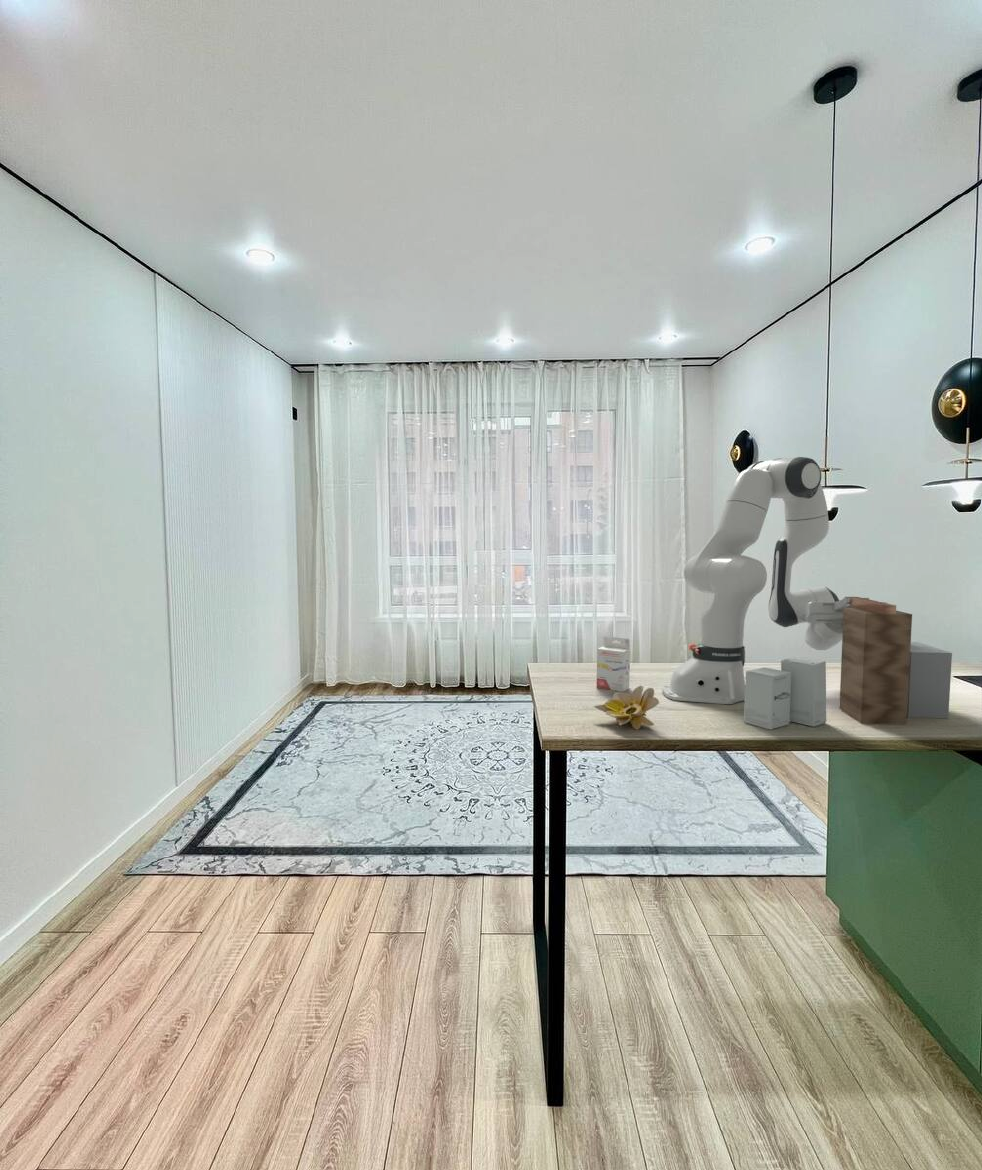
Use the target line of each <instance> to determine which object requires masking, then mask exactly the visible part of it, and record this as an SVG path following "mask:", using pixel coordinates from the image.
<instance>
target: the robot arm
mask: <svg viewBox="0 0 982 1170" xmlns="http://www.w3.org/2000/svg"><path fill="white" fill-rule="evenodd" d="M821 482H822V471H821V468H820V466H819V465H818V463H817V461H816V460H814V459H813V458H810V457H806V456H805V457H804V456H797V457H784V458H782V457H777V458H772V459H767V460H760V461H757V462H754V463H753V464H750V465H749V466H748V467H747V468H746V469H744V470H742V471H741V472H740V473H738V476H737V477H736V479H735V481H734V482H733V484H732V486H731V488H730V490H729V493H728V495H727V497H726V500H725V503H724V505H723V509H722V512H721V515H720V517H719V520H718V522H717V525H716V528H715V530H714V531H713V533H712V534H711V536H710V537H709V538H708V541H707V542H706V543H705V544H704V546H703V548H701V550H700V551H699V552H698V553H697V554H695V555H694V556H692V557H691V558H690V559H688V561H687V562H686V564H685V566H684V570H683V577H684V580H685V582H686V583H687V585H688V586H689V587H691V588H693V589H694V590H696V591H699V592H702V593H708V594H713V595H714V596H713V600H712V603H711V606H710V607H709V609H708V610H706V611H705V612H703V613H702V614H701V615H702V616H701V618H700V639H699V640H700V643H698V644H695V643H689V645H688V650H690V651H691V652H692V657H690V658H689V659H688V660H686V661H685V662H683V663H682V664H680V665H679V666H678V667H676V668H675V669H674V670H673V671H672V675H671V679H670V684H665V685H664V686H663V687H662V692H661V693H662V695H664V696H665V697H666V698H667V699H670V700H673V701H682V702H695V703H696V702H697V703H706V704H707V703H708V704H718V705H719V704H720V705H732V704H735V703H737V702H743V701H745V681H746V679H745V675H744V673H745V672H744V671H745V670H744V667H745V662H746V650H745V649H746V647H745V646H744V633H745V632H744V630H745V620H746V615H747V612H748V609H749V607H750V605H751V603H752V601H753V599H754V598H755V597H756V596H757V595H759V594H760V593H761V592H762V591H763V590H764V588H765V586H766V584H767V580H768V579H767V578H768V572H767V569H766V565H764V564H763V562H762V561H761V560H758V559H755V558H753V557H750V556H747V555H742V554H743V553H744V551H746V550H747V549H748V548H749V547H751V546H752V545H755V543H756V542H757V541H758V540H759V537H760V535H761V531H762V528H763V526H764V522H765V520H766V517H767V514H768V511H769V508H770V503H771V499H782V500H783V502H784V520H785V521H784V522H785V525H784V530H783V533H782V536H781V538H779V539H778V540H777V541H776V543H775V546H774V547H775V548H774V550H773V551H774V552H773V564H772V575H771V576H772V579H771V589H770V590H771V591H770V597H769V602H768V613H769V614H768V615H769V618H770V620H771V621H773V622H774V623H775V624H776V625H778V626H780V627H783V628H787V627H788V628H789V627H793V626H796V625H798V624H803V623H807V629H806V631H805V633H804V641H805V643H806V645H807V646H808V647H809V648H811V649H814V650H816V651H827V650H829V649H832V648H834V647H835V646H836V645H837V644H839V643H841V642H842V635H843V611H844V608H857V607H853V606H850V605H851V603H852V602H851V598H845V597H843V598H842V599H840V598H839V597H838V595H837V594H836V593H835V592H834V591H832V590H831V589H830V588H828V587H826V586H824V585H821V586H815V587H814V586H813V587H807V588H805V589H799V590H794V591H791V580H792V579H791V577H792V568H793V565H794V563H795V561H796V560H797V559H798V558H799V557H800V556H801V555H804V554H805V553H807V552H808V551H810V550H812V549H814V548H815V547H817V546H819V544H821V543H822V542H823V540H825V538H826V537H827V535H828V534H829V533H828V532H829V527H830V525H829V523H830V522H829V520H830V519H829V514H828V513H829V511H828V505H827V500H826V496H825V492H824V489H823V486H822V484H821ZM864 598H865V599H869V600H870V598H869V597H864ZM882 602H883V603H887V604H889V603H888V602H886V601H882Z"/></svg>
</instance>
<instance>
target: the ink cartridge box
mask: <svg viewBox="0 0 982 1170" xmlns="http://www.w3.org/2000/svg"><path fill="white" fill-rule="evenodd" d="M616 641H617V642H620V643H616ZM596 651H597V653H596V688H597V689H604V690H609V689H610V691H615V690H617V691H616V692H622V691H624V692H625V691H627V690H628V689H630V676H631V675H630V671H631V670H630V669H631V668H630V667H631V664H630V663H631V661H630V660H631V659H630V658H631V649H630V639H629V638H628V637H627V638H626V637H624V638H623V637H619V636H618V637H617V636H615V637H614V636H606V635H604V636H603V646H601V647H598V648H597V650H596Z"/></svg>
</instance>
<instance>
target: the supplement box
mask: <svg viewBox="0 0 982 1170" xmlns="http://www.w3.org/2000/svg"><path fill="white" fill-rule="evenodd" d="M790 694H791V672H786V671H781V669H774V668H768V667H761V668H756V669H750V670H749V669H748V670H746V671H745V700H744V708H743V709H744V711H743V712H744V713H743V722H744V723H746V724H750V725H751V726H752V725H753V726H756V727H760V728H762V729H766V730H770V731H771V730H773V729H777V728H781V727H784V726H789V725H790V721H789V717H790Z"/></svg>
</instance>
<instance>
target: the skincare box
mask: <svg viewBox="0 0 982 1170" xmlns="http://www.w3.org/2000/svg"><path fill="white" fill-rule="evenodd" d="M826 665H827V662H826V661H825V660H819V659H811V658H810V659H809V658H801V657H795V656H792V657H789V658H785V659H782V660H780V670H781V671H786V672H791V694H790V717H789V722H793V723H797V724H801V725H805V726H809V727H813V728H814V727H817V726H821V725H824V724H826V723H827V668H826V667H827V666H826Z"/></svg>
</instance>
